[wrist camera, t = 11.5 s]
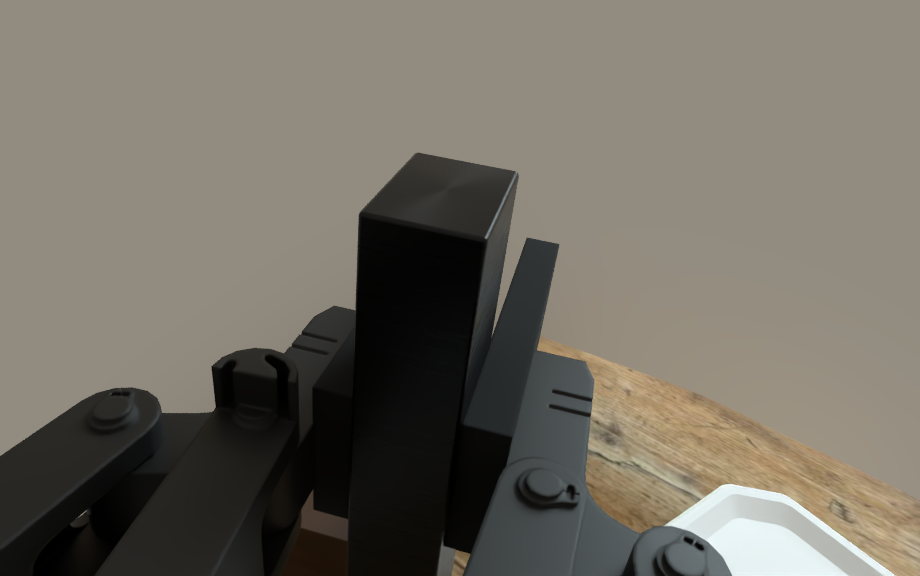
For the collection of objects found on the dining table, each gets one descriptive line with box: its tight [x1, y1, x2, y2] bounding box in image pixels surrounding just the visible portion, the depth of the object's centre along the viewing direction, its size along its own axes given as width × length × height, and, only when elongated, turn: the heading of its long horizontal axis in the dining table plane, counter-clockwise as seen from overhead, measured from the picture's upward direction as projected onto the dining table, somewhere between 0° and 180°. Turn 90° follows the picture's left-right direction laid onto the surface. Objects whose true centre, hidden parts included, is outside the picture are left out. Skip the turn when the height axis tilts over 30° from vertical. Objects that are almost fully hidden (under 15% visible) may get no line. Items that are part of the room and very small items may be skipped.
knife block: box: [281, 490, 348, 576], centre depth 38 cm, size 7×7×9 cm
